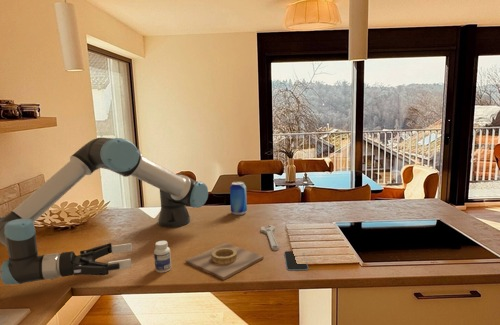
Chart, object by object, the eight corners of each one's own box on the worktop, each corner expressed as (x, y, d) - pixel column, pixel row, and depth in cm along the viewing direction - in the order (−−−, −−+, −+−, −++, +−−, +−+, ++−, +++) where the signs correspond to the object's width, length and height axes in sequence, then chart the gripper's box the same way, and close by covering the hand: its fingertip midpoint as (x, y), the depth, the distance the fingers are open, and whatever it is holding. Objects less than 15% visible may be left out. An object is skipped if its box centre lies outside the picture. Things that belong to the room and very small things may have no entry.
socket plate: (185, 262, 124) (185, 254, 124) (225, 245, 139) (225, 238, 138) (223, 280, 111) (223, 271, 110) (263, 258, 125) (263, 250, 125)
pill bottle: (157, 266, 122) (154, 240, 120) (172, 265, 122) (170, 239, 121) (154, 273, 117) (151, 246, 115) (170, 272, 117) (168, 245, 116)
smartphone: (303, 250, 130) (309, 269, 116) (303, 252, 131) (309, 271, 116) (283, 250, 131) (287, 269, 116) (283, 252, 131) (287, 271, 116)
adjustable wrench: (279, 251, 132) (279, 247, 132) (262, 252, 132) (262, 247, 132) (274, 228, 157) (274, 224, 157) (260, 228, 157) (260, 225, 157)
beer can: (249, 210, 183) (248, 181, 180) (243, 215, 175) (242, 185, 172) (234, 209, 185) (233, 180, 183) (228, 214, 178) (227, 184, 175)
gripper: (69, 259, 121) (132, 250, 128) (52, 295, 98) (131, 282, 104) (66, 239, 120) (130, 231, 126) (49, 271, 97) (129, 259, 103)
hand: (131, 254), depth 115 cm, fingers open, 13 cm apart
